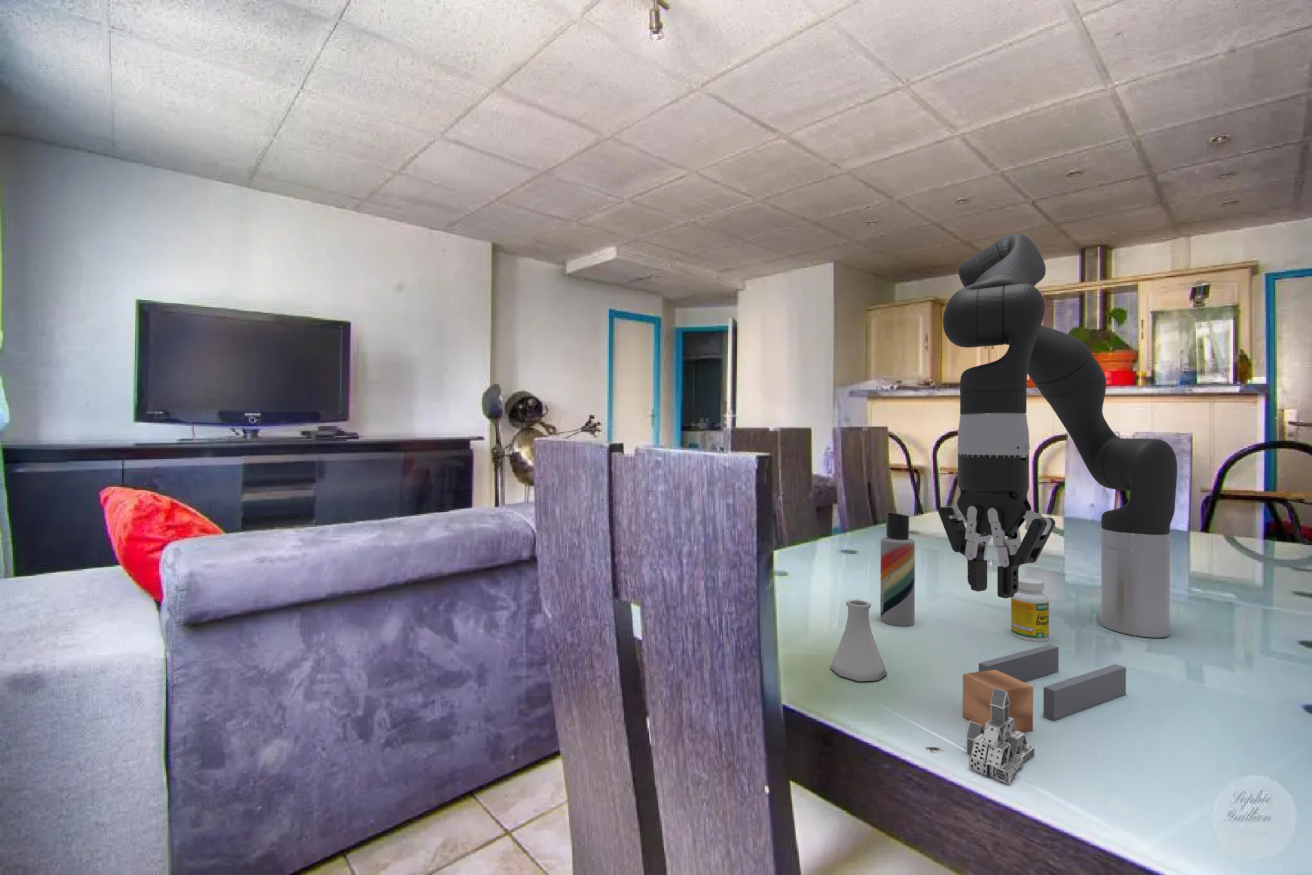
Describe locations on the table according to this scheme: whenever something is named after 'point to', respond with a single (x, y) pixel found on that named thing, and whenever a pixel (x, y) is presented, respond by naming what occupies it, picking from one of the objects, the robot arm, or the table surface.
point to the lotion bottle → (897, 573)
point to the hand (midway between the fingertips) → (992, 592)
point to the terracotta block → (980, 695)
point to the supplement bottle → (1030, 611)
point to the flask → (858, 647)
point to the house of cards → (996, 742)
